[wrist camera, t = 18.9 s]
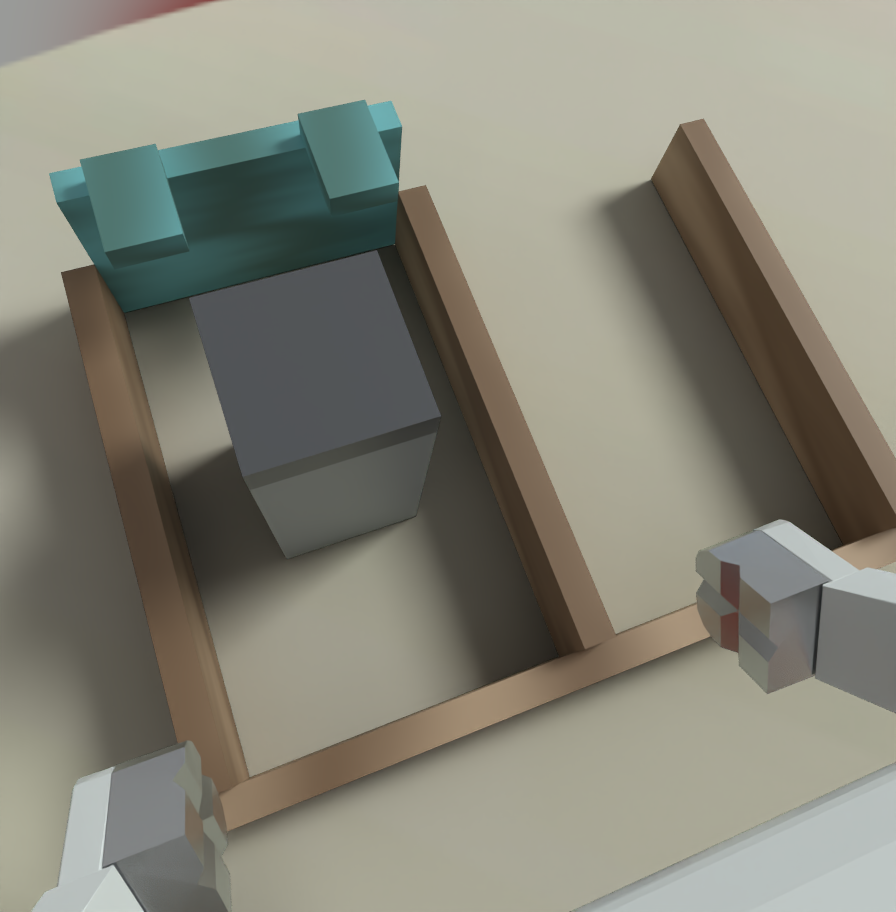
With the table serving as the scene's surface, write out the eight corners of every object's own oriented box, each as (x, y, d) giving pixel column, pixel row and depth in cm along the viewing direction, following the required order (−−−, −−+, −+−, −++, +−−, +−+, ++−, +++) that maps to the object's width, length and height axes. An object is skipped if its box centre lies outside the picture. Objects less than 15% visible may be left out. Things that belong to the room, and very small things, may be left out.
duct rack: (662, 154, 31) (739, 8, 24) (881, 562, 26) (1050, 513, 20) (88, 296, 26) (-3, 161, 20) (224, 826, 21) (163, 877, 15)
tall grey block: (373, 399, 26) (377, 250, 17) (415, 516, 25) (441, 415, 16) (249, 436, 25) (188, 298, 17) (286, 559, 24) (242, 477, 15)
